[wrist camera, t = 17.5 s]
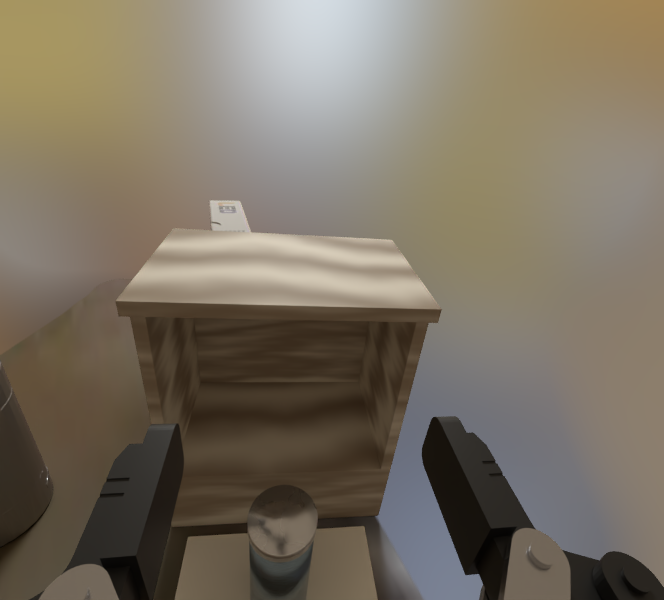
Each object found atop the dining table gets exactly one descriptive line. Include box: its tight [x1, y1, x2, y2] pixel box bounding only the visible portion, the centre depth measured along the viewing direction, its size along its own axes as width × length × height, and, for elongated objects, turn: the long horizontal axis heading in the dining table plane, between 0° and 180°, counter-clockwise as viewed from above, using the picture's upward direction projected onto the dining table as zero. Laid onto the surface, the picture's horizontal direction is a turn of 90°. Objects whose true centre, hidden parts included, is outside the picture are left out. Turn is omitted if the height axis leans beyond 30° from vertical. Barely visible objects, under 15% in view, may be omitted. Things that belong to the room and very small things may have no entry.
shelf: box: [116, 228, 442, 527], centre depth 39 cm, size 15×23×27 cm, turn 96°
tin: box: [247, 485, 318, 600], centre depth 31 cm, size 5×5×12 cm
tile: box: [175, 526, 378, 600], centre depth 34 cm, size 11×18×1 cm, turn 96°
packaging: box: [209, 201, 251, 232], centre depth 67 cm, size 30×6×20 cm, turn 17°
